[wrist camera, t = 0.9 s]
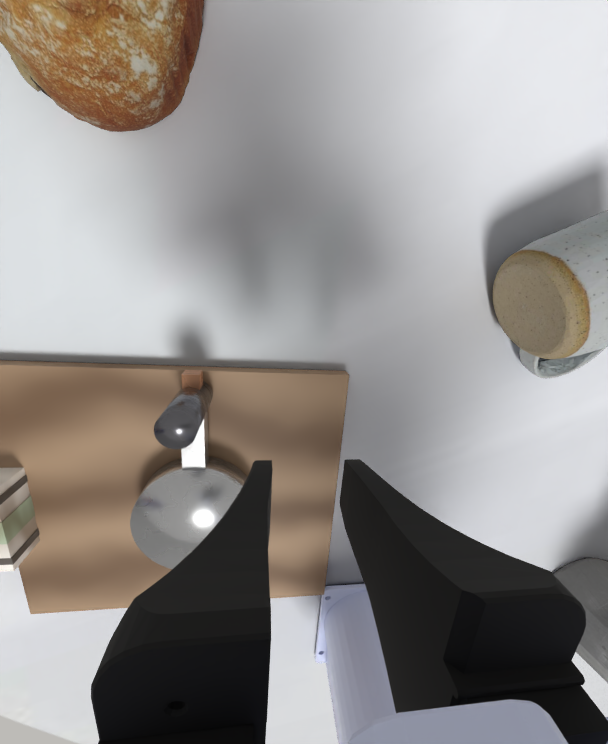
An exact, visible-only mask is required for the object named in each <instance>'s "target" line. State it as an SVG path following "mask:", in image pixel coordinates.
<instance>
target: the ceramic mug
mask: <svg viewBox="0 0 608 744" xmlns="http://www.w3.org/2000/svg"><path fill="white" fill-rule="evenodd" d="M493 306H494V309H495V313H496V316H497V319H498V321H499V323H500V325H501V327H502V329H503V330H504V332H505V333H506V334H507V336H508V337H509V338H510V339H511V341H512V342H514V343H515V344H516V345H517V346H518V347H519V348H520V351H519V354H520V360H521V363H522V364H523V365H524V366H525V367H526V368H527V369H528V370H529V371H530V372H532V373H533V374H535V375H536V376H538V377H541V378H554V377H558V376H561V375H565V374H567V373H570V372H572V371H574V370H576V369H578V368H580V367H581V366H583V365H585V364H586V363H588V362H589V361H591V360H592V359H593V358H595V357H596V356H597V355H598V354H599V353H601V352H602V351H603V350H604V349H605V348H606V347H607V346H608V210H607V211H604V212H602V213H600V214H597V215H595V216H592V217H590V218H588V219H585V220H583V221H580V222H578V223H576V224H574V225H572V226H570V227H567V228H565V229H562V230H560V231H558V232H555V233H553V234H550V235H548V236H545V237H542V238H540V239H538V240H536V241H533V242H531V243H530V244H528V245H526V246H525V247H523V248H522V249H520V250H518V251H517V252H515V253H514V254H512V255H511V256H510V257H509V258H507V259H506V260H505V262H504V263H503V264H502V265H501V267H500V268H499V270H498V272H497V275H496V278H495V280H494V285H493ZM539 358H544V359H549V360H546V361H541V362H538V360H539Z"/></svg>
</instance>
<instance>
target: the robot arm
mask: <svg viewBox="0 0 608 744" xmlns="http://www.w3.org/2000/svg"><path fill="white" fill-rule="evenodd" d="M272 471H273V469H272V460H256V461H254V462H253V464H252V468H251V470H250V473H249V475H248V477H247V479H246V481H245V483H244V485H243V487H242V488H241V490H240V492H239V494H238V495H237V497H236V498H235V500H234V501H233V503H232V504H231V506H230V507H229V509H228V510H227V512H226V513H225V514H224V516H223V517H222V518H221V520H220V521H219V522H218V523H217V525H216V526H215V527H214V528H213V529H212V531H211V532H210V533H209V534H208V535H207V536H206V537H205V538H204V539H203V540H202V542H201V543H200V544H199V545H198V546H197V547H196V548H195V549H194V550H193V551H192V552H191V553H190V554H189V555H187V556H186V557H185V558H184V559H183V560H182V561H181V562H180V563H179V564H178V565H176V566H175V567H174V568H173V569H172V570H171V571H170V572H169V573H167V574H166V575H165V576H164V577H162V578H161V579H160V580H158V581H157V582H156V583H154V584H153V585H152V586H150V587H149V588H148V589H147V590H145V591H144V592H143V593H141V594H140V595H138V596H137V597H135V598H134V600H133V601H132V603H131V604H130V606H129V608H128V609H127V611H126V613H125V614H124V616H123V618H122V619H121V621H120V623H119V625H118V627H117V629H116V630H115V632H114V634H113V636H112V638H111V640H110V642H109V644H108V646H107V649H106V651H105V654H104V656H103V658H102V661H101V663H100V666H99V668H98V670H97V673H96V675H95V678H94V680H93V683H92V685H91V699H92V704H93V709H94V714H95V719H96V724H97V729H98V734H99V739H100V740H99V743H98V744H265V736H266V722H267V705H268V685H269V665H270V645H271V606H270V586H269V562H268V546H269V535H270V517H271V494H272ZM340 507H341V512H342V517H343V521H344V525H345V529H346V532H347V535H348V538H349V541H350V544H351V546H352V549H353V552H354V555H355V558H356V560H357V563H358V566H359V569H360V572H361V575H362V577H363V580H364V583H365V584H353V585H337V586H326V587H325V592H324V595H322V597H321V606H320V615H319V624H318V633H317V642H316V651H315V661H316V662H317V663H326V666H327V673H328V679H329V686H330V692H331V699H332V705H333V712H334V718H335V725H336V731H337V738H338V742H339V744H608V717H605V716H604V715H603V714H602V713H601V711H600V710H599V709H598V707H597V706H596V705H595V703H594V702H593V701H592V700H591V698H590V697H589V696H588V694H587V693H586V692H585V690H584V689H583V688H582V687H581V685H583V684H584V682H585V680H584V677H583V675H582V674H581V672H580V671H579V670H578V669H577V667H576V666H575V665H574V664H573V662H572V661H571V660H572V658H573V656H574V654H575V651H576V649H577V647H578V645H579V643H580V641H581V638H582V636H583V634H584V630H585V627H586V612H585V610H584V608H583V606H582V604H581V603H580V602H579V601H578V599H577V598H576V597H575V596H574V595H573V594H572V593H571V592H570V591H569V590H568V589H567V588H566V587H565V586H564V585H563V584H562V583H561V582H560V581H559V580H558V579H557V578H556V577H555V576H554V575H553V573H552V572H550V571H548V570H545V569H543V568H540V567H537V566H535V565H532V564H529V563H527V562H524V561H522V560H519V559H516V558H514V557H511V556H509V555H506V554H504V553H502V552H500V551H497V550H495V549H493V548H491V547H488V546H486V545H484V544H482V543H480V542H478V541H476V540H474V539H472V538H470V537H468V536H466V535H464V534H462V533H460V532H459V531H457V530H455V529H453V528H451V527H449V526H448V525H446V524H444V523H443V522H441V521H439V520H438V519H436V518H435V517H433V516H431V515H430V514H428V513H427V512H425V511H424V510H422V509H421V508H419V507H418V506H416V505H415V504H414V503H412V502H411V501H410V500H408V499H407V498H406V497H404V496H403V495H402V494H400V493H399V492H398V491H397V490H395V489H394V488H393V487H392V486H390V485H389V484H388V483H387V482H386V481H384V480H383V479H382V478H381V477H380V476H379V475H377V474H376V473H375V472H374V471H373V470H372V469H371V468H369V467H368V466H367V465H366V464H365V463H364V462H362V461H361V460H345V463H344V471H343V479H342V488H341V496H340Z"/></svg>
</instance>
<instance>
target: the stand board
mask: <svg viewBox="0 0 608 744" xmlns="http://www.w3.org/2000/svg"><path fill="white" fill-rule="evenodd" d="M185 370H203V381H204V382H206V383H207V384H208V385H209V386H210V387H211V389H212V392H213V398H212V401H211V403H210V405H209V408H208V410H207V417H208V456H210V457H215V458H219V459H222V460H225V461H227V462H229V463H231V464H233V465H235V466H236V467H238V468H239V469H240V470H241V471H243V472H244V473H245V474H246V476H247V477H248V475H249V473H250V470H251V468H252V464H253V462H254V461H256V460H272V469H273V471H272V494H271V517H270V535H269V546H268V562H269V586H270V598H282V597H297V596H312V595H324V592H325V583H326V574H327V565H328V557H329V548H330V539H331V530H332V521H333V513H334V504H335V495H336V486H337V478H338V469H339V460H340V451H341V443H342V434H343V425H344V416H345V408H346V399H347V390H348V381H349V374H348V373H347V372H346V371H333V370H301V369H269V368H236V367H204V366H172V365H140V364H107V363H75V362H43V361H10V360H0V572H3V571H15V569H16V568H17V567H18V566H19V570H20V574H21V578H22V582H23V586H24V590H25V594H26V598H27V601H28V605H29V609H30V613H31V614H39V613H54V612H69V611H84V610H100V609H115V608H129V606H130V604H131V603H132V601H133V600H134V598H135V597H137V596H138V595H140V594H141V593H143V592H144V591H145V590H147V589H148V588H149V587H150V586H152V585H153V584H154V583H156V582H157V581H158V580H160V579H161V578H162V577H164V576H165V575H166V574H167V573H169V572H170V571H171V570H172V569H170V568H166V567H164V566H162V565H159V564H157V563H156V562H154V561H152V560H151V559H150V558H148V557H147V556H146V555H145V554H144V553H143V552H142V551H141V550H140V549H139V548H138V546H137V545H136V543H135V541H134V539H133V536H132V533H131V528H130V519H131V513H132V510H133V507H134V505H135V503H136V501H137V500H138V498H139V496H140V494H141V493H142V491H143V489H144V487H145V486H146V484H147V482H148V481H149V479H150V478H151V477H152V475H153V474H154V473H155V472H156V471H157V470H159V469H160V468H161V467H163V466H164V465H166V464H168V463H170V462H172V461H174V460H177V459H180V458H182V452H181V449H170V448H167V447H165V446H163V445H162V444H160V443H159V442H158V441H157V439H156V437H155V435H154V425H155V423H156V421H157V420H158V418H159V417H160V416H161V414H162V413H163V412H164V410H165V409H166V408H167V406H168V405H169V404H170V402H171V401H172V400H173V399H174V397H175V396H176V395H177V393H178V392H179V391H180V389H181V388H182V376H181V374H182V373H183V372H184V371H185Z"/></svg>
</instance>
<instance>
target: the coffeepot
mask: <svg viewBox="0 0 608 744" xmlns="http://www.w3.org/2000/svg"><path fill="white" fill-rule="evenodd" d="M553 575H554V576H555V577H556V578H557V579H558V580H559V581H560V582H561V583H562V584H563V585H564V586H565V587H566V588H567V589H568V590H569V591H570V592H571V593H572V594H573V595H574V596H575V597H576V598H577V599H578V601H579V602H580V603H581V604H582V606H583V608H584V610H585V612H586V627H585V630H584V634H583V636H582V638H581V641H580V643H579V645H578V647H577V649H576V652H577V653H578V654H579V655H580V656H581V657H582V658H583V659H584V660H585V661H586V662H587V663H588V664H589V665H590V666H591V667H592V668H593V669H594V670H595V671H596V672H597V673H598V674H599V675H600V676H601V677H602V678H603V679H604V680H605V681H606V682H607V683H608V561H605V560H601V559H598V558H586V559H581V560H577V561H574V562H572V563H569V564H567V565H565V566H564V567H562V568H560V569H559V570H558V571H556V572H555V573H554V574H553Z"/></svg>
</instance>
